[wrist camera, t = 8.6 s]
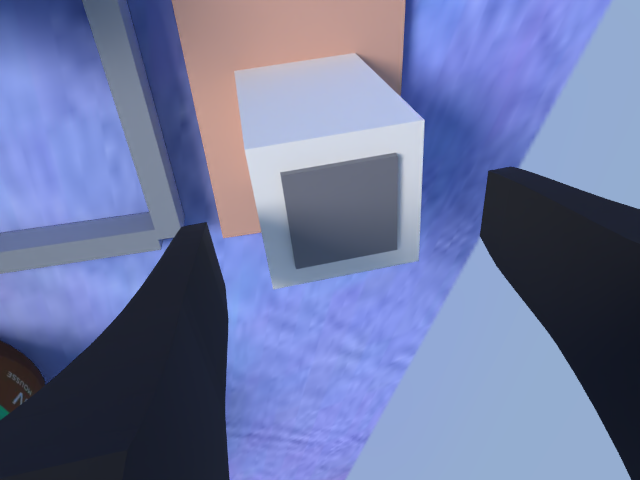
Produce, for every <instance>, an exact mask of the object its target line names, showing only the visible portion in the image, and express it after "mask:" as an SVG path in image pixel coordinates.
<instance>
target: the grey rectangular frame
mask: <svg viewBox="0 0 640 480" xmlns="http://www.w3.org/2000/svg"><path fill="white" fill-rule="evenodd" d="M82 2H83V5H84V8H85V12H86V15H87V18H88V21H89V24H90V27H91V30H92V33H93V37H94V40H95V43H96V46H97V49H98V52H99V55H100V59H101V62H102V65H103V68H104V71H105V74H106V77H107V81H108V84H109V87H110V90H111V93H112V96H113V99H114V103H115V106H116V109H117V112H118V115H119V118H120V121H121V125H122V128H123V131H124V134H125V137H126V140H127V143H128V147H129V150H130V153H131V156H132V159H133V162H134V165H135V169H136V172H137V175H138V178H139V181H140V184H141V187H142V190H143V194H144V197H145V200H146V203H147V206H148V209H149V212H147V213H139V214H132V215H125V216H118V217H111V218H104V219H97V220H90V221H83V222H75V223H68V224H61V225H54V226H47V227H40V228H33V229H26V230H18V231H11V232H4V233H0V274H2V273H8V272H15V271H22V270H28V269H35V268H42V267H48V266H55V265H62V264H68V263H75V262H81V261H88V260H95V259H101V258H108V257H115V256H121V255H128V254H135V253H141V252H148V251H155V250H161V248H162V242H163V239H167V238H174V237H175V235H176V234H177V232H178V231H179V229H180V228H181V227H183V226H184V219H185V216H184V213H183V209H182V205H181V201H180V198H179V194H178V190H177V187H176V183H175V179H174V175H173V172H172V168H171V164H170V160H169V157H168V153H167V149H166V145H165V142H164V138H163V134H162V130H161V127H160V123H159V119H158V116H157V112H156V108H155V104H154V101H153V97H152V93H151V89H150V86H149V82H148V78H147V74H146V71H145V67H144V63H143V60H142V56H141V52H140V48H139V45H138V41H137V37H136V33H135V30H134V26H133V22H132V18H131V15H130V11H129V7H128V3H127V0H82Z"/></svg>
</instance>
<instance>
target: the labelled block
mask: <svg viewBox="0 0 640 480" xmlns="http://www.w3.org/2000/svg"><path fill="white" fill-rule="evenodd" d="M234 74H235V82H236V89H237V97H238V104H239V112H240V119H241V127H242V134H243V142H244V149H245V154H246V159H247V164H248V169H249V174H250V179H251V184H252V188H253V193H254V198H255V203H256V208H257V213H258V217H259V222H260V227H261V232H262V237H263V242H264V247H265V251H266V256H267V261H268V266H269V271H270V276H271V280H272V285H273V289H278V288H283V287H288V286H293V285H298V284H304V283H309V282H314V281H319V280H324V279H329V278H334V277H339V276H344V275H349V274H354V273H359V272H364V271H370V270H375V269H380V268H385V267H390V266H395V265H400V264H405V263H410V262H415V261H419V242H420V218H421V194H422V170H423V146H424V122H425V120H424V119H423V118H422V117H421V116H420V115H419V114H418V113H417V112H416V111H415V110H414V109H413V108H412V107H411V106H410V105H409V104H408V103H407V102H405V101H404V100H403V99H402V98H401V97H400V96H399V95H398V94H397V93H396V92H395V91H394V90H393V89H392V88H391V87H390V86H389V85H388V84H387V83H386V82H385V81H384V80H383V79H382V78H381V77H379V76H378V75H377V74H376V73H375V72H374V71H373V70H372V69H371V68H370V67H369V66H368V65H367V64H366V63H365V62H364V61H363V60H362V59H361V58H360V57H359V56H358V55H357V54H356V53H351V54H345V55H338V56H331V57H324V58H318V59H311V60H304V61H298V62H291V63H284V64H277V65H271V66H264V67H257V68H251V69H244V70H237V71H234Z"/></svg>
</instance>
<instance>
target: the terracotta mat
mask: <svg viewBox="0 0 640 480" xmlns="http://www.w3.org/2000/svg"><path fill="white" fill-rule="evenodd" d="M405 1H406V0H172V4H173V9H174V14H175V18H176V23H177V27H178V32H179V37H180V41H181V46H182V50H183V55H184V60H185V64H186V69H187V74H188V78H189V83H190V87H191V92H192V97H193V101H194V106H195V110H196V115H197V120H198V124H199V129H200V134H201V138H202V143H203V147H204V152H205V157H206V161H207V166H208V170H209V175H210V180H211V184H212V189H213V194H214V198H215V203H216V207H217V212H218V217H219V221H220V226H221V230H222V235H223V238H227V237H234V236H241V235H247V234H254V233H261V227H260V222H259V217H258V213H257V208H256V203H255V198H254V193H253V188H252V184H251V179H250V174H249V169H248V164H247V159H246V154H245V149H244V142H243V134H242V127H241V119H240V112H239V104H238V97H237V89H236V82H235V74H234V71H237V70H244V69H251V68H257V67H264V66H271V65H277V64H284V63H291V62H298V61H304V60H311V59H318V58H324V57H331V56H338V55H345V54H351V53H356V54H357V55H358V56H359V57H360V58H361V59H362V60H363V61H364V62H365V63H366V64H367V65H368V66H369V67H370V68H371V69H372V70H373V71H374V72H375V73H376V74H377V75H378V76H379V77H381V78H382V79H383V80H384V81H385V82H386V83H387V84H388V85H389V86H390V87H391V88H392V89H393V90H394V91H395V92H396V93H397V94H398V95H399V96H400V97H401V83H402V63H403V42H404V22H405Z"/></svg>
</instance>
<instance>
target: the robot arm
mask: <svg viewBox="0 0 640 480" xmlns="http://www.w3.org/2000/svg"><path fill="white" fill-rule="evenodd" d="M480 237H481V239H482V241H483V243H484V244H485V246H486V248H487V250H488V252H489V254H490V255H491V257H492V259H493V260H494V262H495V264H496V266H497V267H498V268H499V270H500V271H501V272H502V274H503V275H504V276H505V278H506V279H507V280H508V282H509V283H510V284H511V285H512V287H513V288H514V289H515V291H516V292H517V293H518V294H519V296H520V297H521V298H522V300H523V301H524V302H525V303H526V305H527V306H528V307H529V308H530V309H531V311H532V312H533V313H534V314H535V316H536V317H537V319H538V320H539V321H540V322H541V324H542V325H543V326H544V327H545V329H546V330H547V331H548V333H549V334H550V336H551V337H552V338H553V340H554V341H555V343H556V344H557V345H558V347H559V349H560V350H561V352H562V354H563V355H564V357H565V359H566V360H567V362H568V363H569V365H570V367H571V368H572V370H573V371H574V373H575V375H576V376H577V378H578V380H579V382H580V383H581V385H582V387H583V389H584V390H585V392H586V393H587V395H588V397H589V399H590V401H591V402H592V404H593V406H594V408H595V409H596V411H597V413H598V415H599V417H600V419H601V421H602V422H603V424H604V426H605V428H606V430H607V432H608V434H609V436H610V438H611V440H612V441H613V443H614V445H615V447H616V449H617V451H618V452H619V455H620V457H621V459H622V461H623V463H624V465H625V467H626V469H627V471H628V474H629V476H630V477H631V480H640V209H637V208H634V207H630V206H627V205H624V204H621V203H618V202H614V201H611V200H608V199H605V198H602V197H599V196H596V195H594V194H591V193H588V192H585V191H582V190H579V189H577V188H574V187H571V186H568V185H566V184H563V183H560V182H557V181H555V180H552V179H549V178H546V177H543V176H540V175H538V174H535V173H532V172H529V171H526V170H522V169H519V168H515V167H506V168H501V169H496V170H490V171H488V178H487V186H486V193H485V201H484V209H483V216H482V224H481V231H480ZM227 344H228V310H227V299H226V289H225V283H224V280H223V276H222V273H221V270H220V266H219V263H218V259H217V256H216V253H215V249H214V246H213V243H212V239H211V236H210V232H209V229H208V226H207V222H205V223H200V224H194V225H189V226H183V227H181V228H180V229H179V231H178V232H177V234H176V235H175V237H174V238H173V240H172V241H171V243H170V245H169V246H168V248H167V249H166V251H165V252H164V254H163V256H162V257H161V259H160V260H159V262H158V263H157V265H156V266H155V268H154V269H153V270H152V272H151V273H150V275H149V276H148V278H147V279H146V281H145V282H144V283H143V285H142V286H141V288H140V289H139V290H138V291H137V293H136V294H135V295H134V297H133V298H132V299H131V300H130V302H129V303H128V304H127V306H126V307H125V308H124V309H123V311H122V312H121V313H120V314H119V315H118V316H117V317H116V319H115V320H114V321H113V322H112V323H111V324H110V325H109V326H108V327H107V328H106V329H105V330H104V331H103V333H102V334H101V335H100V336H99V337H98V338H97V339H96V340H95V341H94V342H93V343H92V344H91V345H90V346H89V347H88V348H87V349H86V350H84V351H83V352H82V353H81V354H80V355H79V356H78V357H77V358H76V359H75V360H73V361H72V362H71V363H70V364H69V365H68V366H67V367H66V368H65V369H64V370H62V371H61V372H60V373H59V374H58V375H57V376H56V377H55V378H53V379H52V380H51V381H50V382H49V383H47V384H46V385H45V386H44V387H43V388H41V389H40V390H39V391H38V392H36V393H35V394H34V395H33V396H31V397H30V398H29V399H28V400H26V401H25V402H24V403H22V404H21V405H20V406H18V407H17V408H16V409H14V410H13V411H12V412H11V413H9V414H8V415H6V416H5V417H4V418H2V419H1V420H0V480H229V467H228V453H227V437H226V422H225V391H226V368H227Z"/></svg>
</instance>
